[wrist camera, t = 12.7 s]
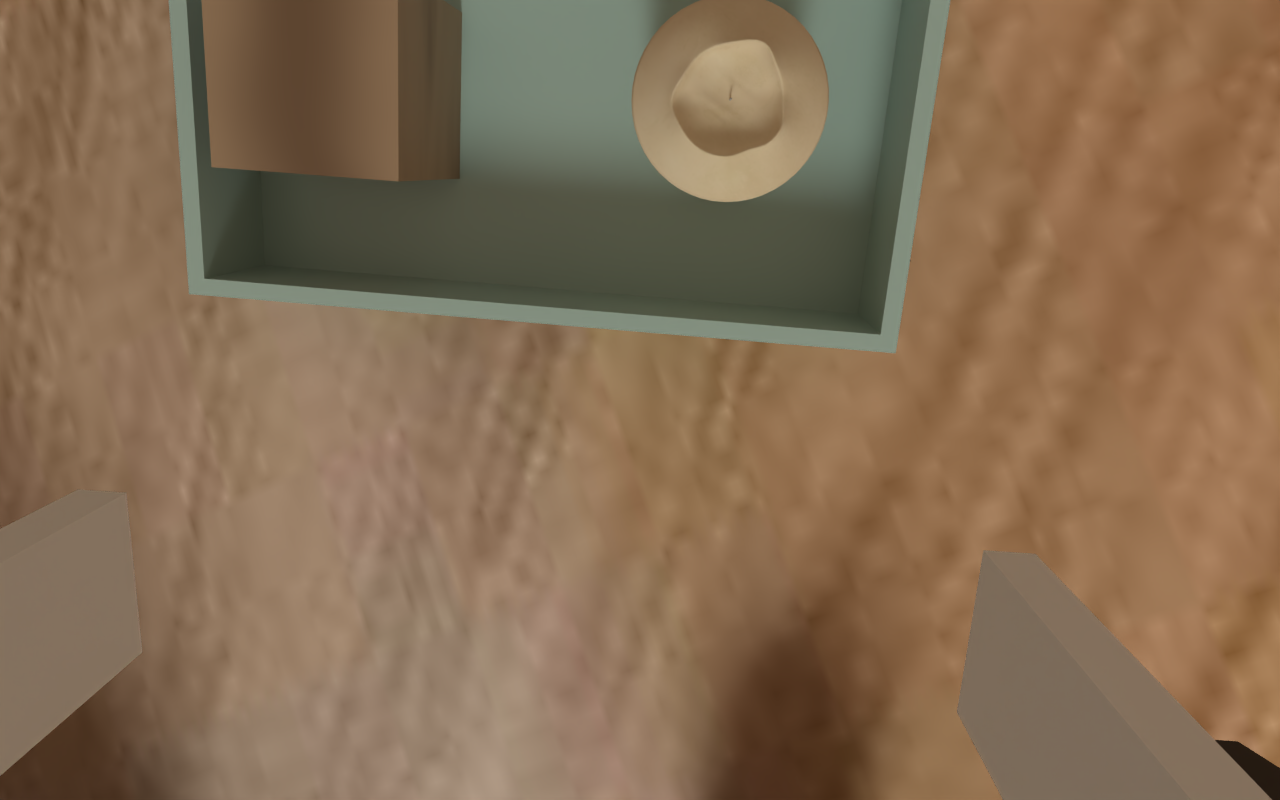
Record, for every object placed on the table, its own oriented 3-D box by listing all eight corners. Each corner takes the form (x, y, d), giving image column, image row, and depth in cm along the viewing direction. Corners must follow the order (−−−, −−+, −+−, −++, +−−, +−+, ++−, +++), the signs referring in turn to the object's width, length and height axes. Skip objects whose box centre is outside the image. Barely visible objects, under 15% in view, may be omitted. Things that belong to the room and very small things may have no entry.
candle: (711, 6, 31) (716, -66, 21) (827, 104, 32) (882, 76, 22) (619, 131, 32) (585, 116, 23) (732, 223, 33) (744, 245, 23)
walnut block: (309, 167, 34) (211, 167, 27) (304, 2, 32) (198, -43, 25) (459, 178, 33) (398, 181, 27) (462, 12, 32) (397, -30, 25)
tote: (258, 277, 36) (189, 293, 31) (238, -135, 31) (155, -190, 27) (868, 327, 34) (895, 353, 30) (929, -95, 30) (972, -144, 25)
